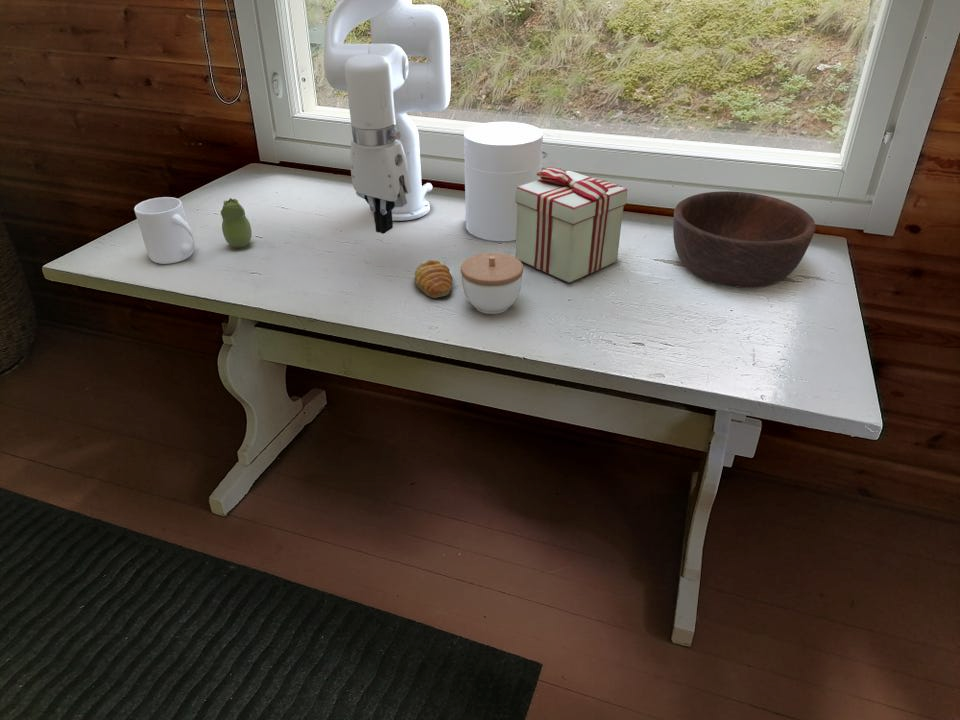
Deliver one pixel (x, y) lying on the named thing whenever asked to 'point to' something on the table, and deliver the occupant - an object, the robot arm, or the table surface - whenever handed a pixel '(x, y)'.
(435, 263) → the pastry
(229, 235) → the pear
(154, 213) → the mug
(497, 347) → the table surface
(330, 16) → the robot arm
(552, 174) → the gift box
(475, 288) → the trinket box
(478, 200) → the canister
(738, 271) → the wooden bowl
